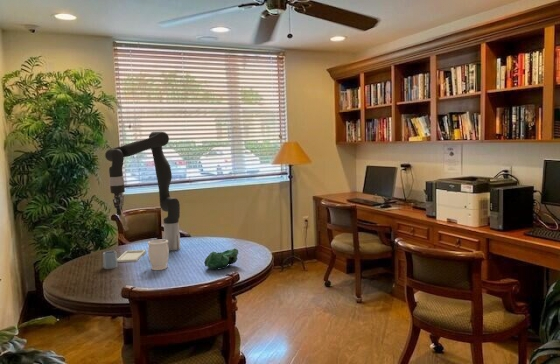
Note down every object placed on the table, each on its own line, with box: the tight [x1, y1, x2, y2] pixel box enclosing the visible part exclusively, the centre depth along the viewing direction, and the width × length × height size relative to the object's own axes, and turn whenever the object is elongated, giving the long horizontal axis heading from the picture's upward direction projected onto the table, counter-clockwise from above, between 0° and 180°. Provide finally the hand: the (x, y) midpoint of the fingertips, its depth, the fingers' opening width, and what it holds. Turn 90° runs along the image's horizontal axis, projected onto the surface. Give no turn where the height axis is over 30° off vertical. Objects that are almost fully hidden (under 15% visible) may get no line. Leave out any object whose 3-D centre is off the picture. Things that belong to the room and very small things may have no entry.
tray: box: [117, 249, 147, 263], centre depth 255 cm, size 12×22×2 cm, turn 5°
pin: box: [117, 205, 130, 232], centre depth 244 cm, size 6×2×16 cm, turn 95°
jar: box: [147, 238, 170, 271], centre depth 232 cm, size 11×10×15 cm
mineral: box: [204, 247, 239, 270], centre depth 231 cm, size 18×16×10 cm
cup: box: [102, 250, 118, 270], centre depth 234 cm, size 7×7×9 cm
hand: (119, 214), depth 244 cm, fingers closed on pin, 2 cm apart
